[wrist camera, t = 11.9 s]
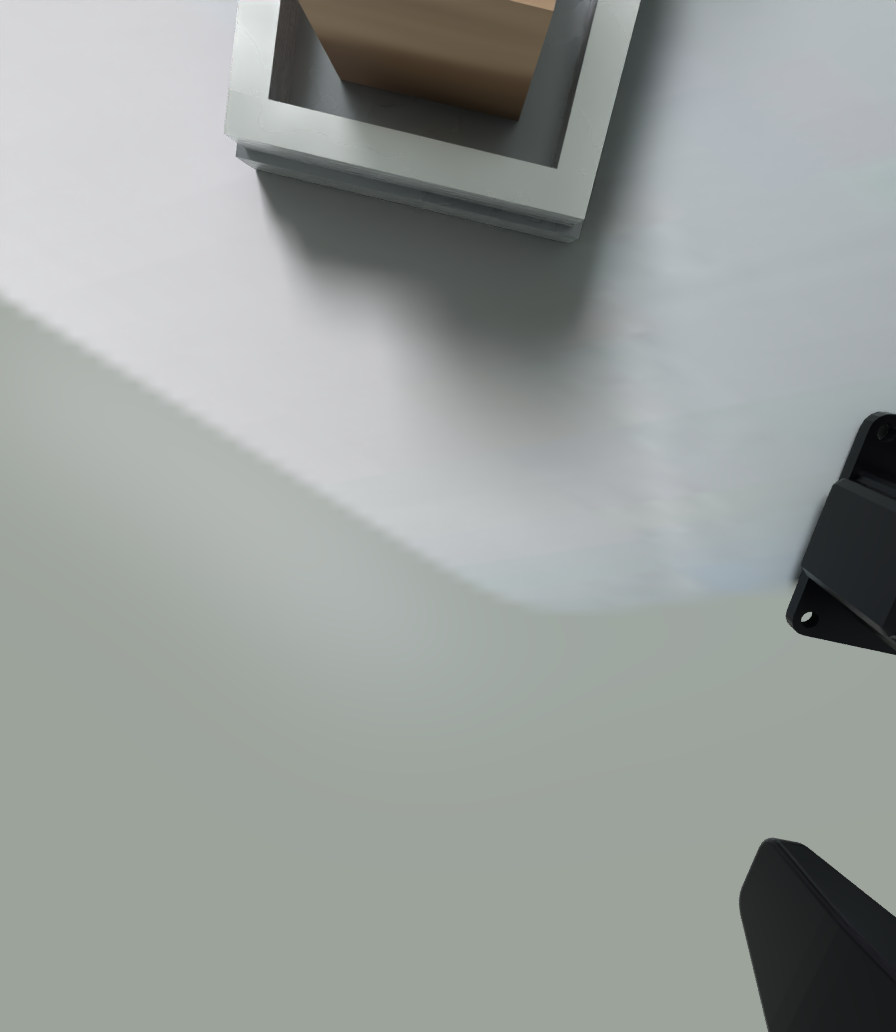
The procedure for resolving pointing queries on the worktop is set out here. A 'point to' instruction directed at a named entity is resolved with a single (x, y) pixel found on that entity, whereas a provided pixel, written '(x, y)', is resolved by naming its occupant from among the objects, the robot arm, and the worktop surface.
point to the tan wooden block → (437, 47)
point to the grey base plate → (433, 122)
